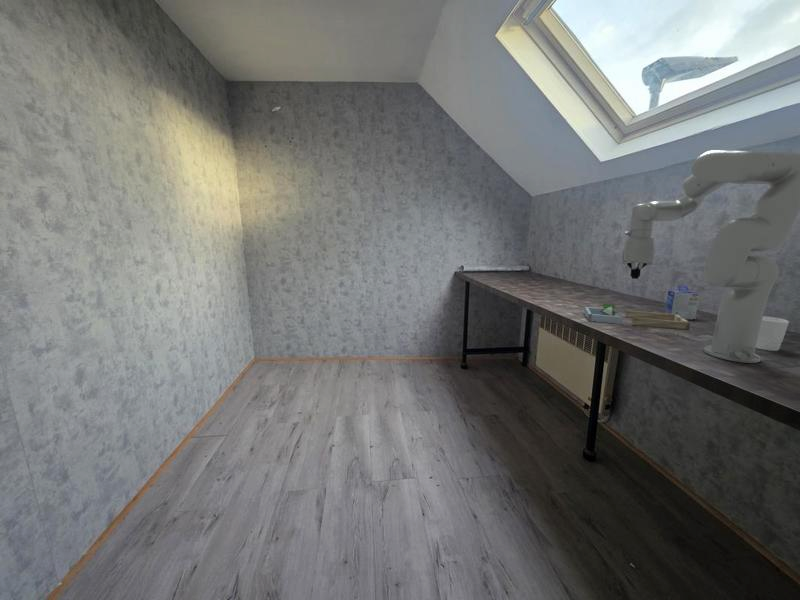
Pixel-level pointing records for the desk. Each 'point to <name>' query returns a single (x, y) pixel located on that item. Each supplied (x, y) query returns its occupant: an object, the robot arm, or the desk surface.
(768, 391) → the desk surface
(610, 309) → the geometric puzzle
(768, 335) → the white cup
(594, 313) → the bay
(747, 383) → the desk surface
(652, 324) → the wooden tray
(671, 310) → the ink cartridge box
